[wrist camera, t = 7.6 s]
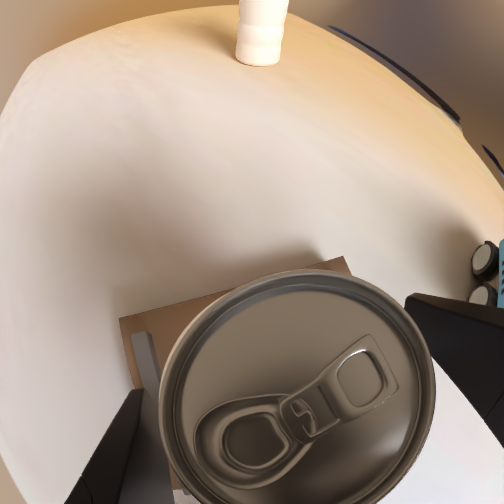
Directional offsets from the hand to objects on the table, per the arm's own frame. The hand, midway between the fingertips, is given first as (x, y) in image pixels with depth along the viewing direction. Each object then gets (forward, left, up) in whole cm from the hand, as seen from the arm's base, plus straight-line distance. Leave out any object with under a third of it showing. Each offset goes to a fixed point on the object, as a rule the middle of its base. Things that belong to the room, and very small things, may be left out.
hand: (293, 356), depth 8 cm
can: (-1, 0, -9) cm, 9 cm away
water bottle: (+43, +2, -11) cm, 44 cm away
